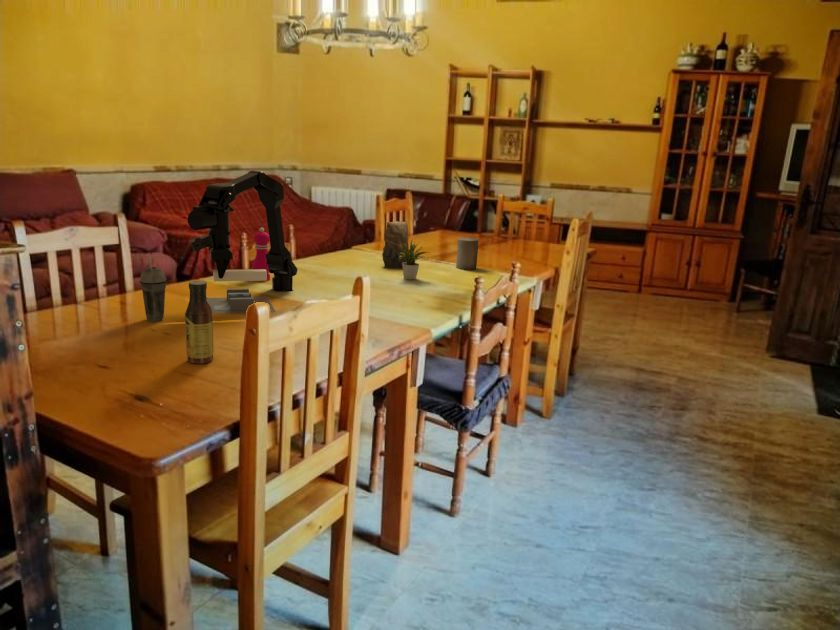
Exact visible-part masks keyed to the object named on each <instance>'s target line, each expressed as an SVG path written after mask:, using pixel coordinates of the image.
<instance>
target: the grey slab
mask: <svg viewBox="0 0 840 630" xmlns="http://www.w3.org/2000/svg"><path fill="white" fill-rule="evenodd" d="M206 301H207V302H208V304H209V305H210V307H211V309H212V315H223V314H225V315H226V314H227V315H229V314H247V313H246V310H247V308H248V306H249V305H251V304H253V303H256V302H265V303H268V304H269V305H270V309H271V312H270V313H276V310H275V308H274V306H273V304H272V302H271V301H270V299H269V298H268V296H252V293H251V292H250V289H249V288H226V297H225V296H224V297H207V300H206ZM254 301H255V302H254Z"/></svg>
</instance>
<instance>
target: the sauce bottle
mask: <svg viewBox="0 0 840 630" xmlns="http://www.w3.org/2000/svg"><path fill="white" fill-rule="evenodd" d="M207 285H208V284H207V281H205V280H199V279H198V280H197V279H196V280H191V281H189V282H188V289H189V301H188V304H187V308H186V310H185V312H184V323H185V324H184V325H185V326H184V327H185V328H184V329H185V346H186V347H185V349H186V356H187V361H188V363H191V364H195V365H196V364H201V365H202V364H207V363H209V362H211V361H213V360H214V327H213V326H214V323H213V322H214V321H213V314H212V309H211V307H210V305H209V304H208V302H207V301H206V300H207V298H208V297H207V288H208V287H207Z"/></svg>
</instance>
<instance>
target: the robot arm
mask: <svg viewBox="0 0 840 630" xmlns="http://www.w3.org/2000/svg"><path fill="white" fill-rule="evenodd" d="M250 189H253V190H254V191H256V192H257V195H258V199H259V202H260V203H261V204H262V205H263V207H264V208H265V215H266V216H265V217H266V222H267V223H266V224H267V229H268V232H267V233H268V234H269V239H270V241H269V244H270V248H269V250H268V251H267V254H266V261H267V262H266V264H267V265H268V268H269V274H270V275H271V274H272V275H273V277H271V279H272V280H271V286H272V287H271V289H272V290H273V291H275V293H276V292H279V293H280V292H285V293H286V292H294V290H293V286H294V285H293V281H294V279H293V277H295V276H296V275H298V267H297V266H296V264H295V263H294V262H293V260H292V255H291V252H290V251H289V250H288V248H287V247H286V242H285V236H284V228H283V219H282V213H281V212H282V211H281V205H282V203H283V201H284V199H285V193H284V192H285V191H284V189H285V188H284V185H283V183H281V182H280V181H277V180H276V179H274V178H272V177H271V176H269V175H267V174H266V173H265V172H263V171H258V170H250V171H248V172H247V173H245V174H243V175H240V176H238V177H236V178H233V179H231V180H230V181H227V182H221V183H211V184H208V185H207V186H206V187H205V191H204V193H203V195H202V197H201V199H200V201H199V203H198V206H197V205H194V206H192V211H190V212H189V214H188V216H187V218H186V219H187V224H188V225H189V227H190V228H191V229H192V230H194V231H201V230H202V231H203V230H207V234H205V235H204V234H203V235H201V236H198V237H194V238H192V239H190V240H189V243H190V244H191V247H192V249H193V252H199V251H201V250H203V249H206V248H207V250H208V251H209V252H208V254H209V256H210V259H211V260H212V261H213V262H214V263H215V268H216V270H217V271H218V276H219V278H223V276H224V274H225V271H226V270H228V269H227V268H228V267H229V265H230V262H231V260H233V259H234V252H233V251H232V250H231V244H230V235H231V231H230V212H234V211H235V210H234V208H233V207H232V206H231V205H230V204H231V203H233V202H234V201H235V200H236V199H237V196H238V195H240V194H242V193H244V192H246V191H249V190H250Z"/></svg>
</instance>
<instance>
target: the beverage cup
mask: <svg viewBox="0 0 840 630" xmlns="http://www.w3.org/2000/svg"><path fill="white" fill-rule="evenodd" d="M147 255H148V264H149V267H147V268H145V269H144V270H143V271H142V272H141V274H140V277H139V278H140V279H139V284H140V287H141V288H140V289H141V291H142V298H143V305H144V310H145V317H146V321H148V322H151V323H157V322H162V321H163V319H164V315H165V301H166V300H165V299H166V288H167V282H168V280H167V276H166V275H165V272H164V271H163V270H162V269H160V268H158V267H155V266H153V265H152V259H151V258H152V257H151V253H150V252H147Z"/></svg>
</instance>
